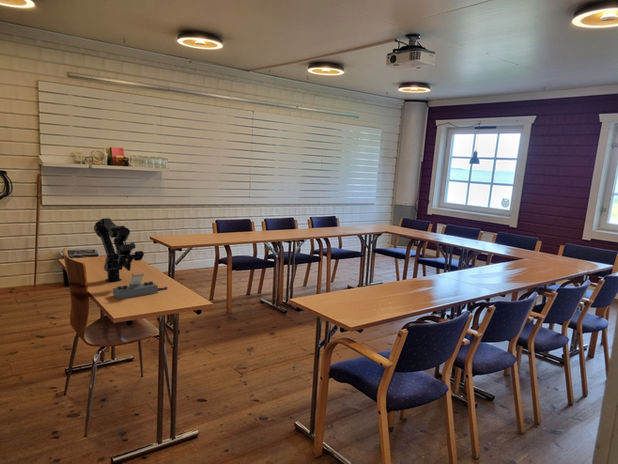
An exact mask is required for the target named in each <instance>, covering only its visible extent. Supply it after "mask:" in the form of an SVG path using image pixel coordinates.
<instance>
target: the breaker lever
mask: <svg viewBox="0 0 618 464" xmlns="http://www.w3.org/2000/svg"><path fill="white" fill-rule="evenodd" d="M144 272H145V271H143V270H141V271H133V272H131V277H130V281H129V283H128V286H130V287H131V286H137V285H140V284H142V283H141V282H142V280H143V277H144V276H145V273H144Z"/></svg>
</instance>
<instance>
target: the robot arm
mask: <svg viewBox="0 0 618 464" xmlns="http://www.w3.org/2000/svg"><path fill="white" fill-rule="evenodd" d="M93 230H94V232H95V234H96V236H98V237H99V238H100V239H101V241H102V245H103V248H104V251H105V255H106V257H105V263H104V266H103V270H104V271H105V272H107V273H106V274H107V278H105V281H106V282H110V283H115V282H118V281H122V278H120V270H123V268H125V270H126V271H128V272H130V271H131V269H132V267H131V266H132V262H133V260H134V261H136V262H137V261H141V260H143V257H144V256H145V253H144V251H142V250H136V251H135V252H134V253H133V254H131V253H132V251H133V250H135V249H136V248H137V247H136V244H135V242H130V243H127V241H128V238H129V236H130V234H131V230H130V229H129V228H128V227H125V225H117V224H115V223H114V222H113V221H112V219H111V218H109V217H102V218H101V219H100V220H99V221H96V222H95V224H94V225H93ZM111 238H112V239H113V242H112V239H111ZM114 247H115V248H114ZM115 249H116V250H115Z"/></svg>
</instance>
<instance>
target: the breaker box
mask: <svg viewBox="0 0 618 464" xmlns="http://www.w3.org/2000/svg"><path fill="white" fill-rule="evenodd" d="M167 289H168V286H162V287H159V286H158V285H157V284H156V283H154V281H145V282H142V283H140V285H137V286H131V287H130V286H129V285H125V284H124V285H121V286H117V287H113V288H112V296H113V297H114V298H116V299H117V300H123V299H125V300H126V299H130V298H136V297H141V296H148V295H153V294H159V291H163V290H167Z"/></svg>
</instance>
